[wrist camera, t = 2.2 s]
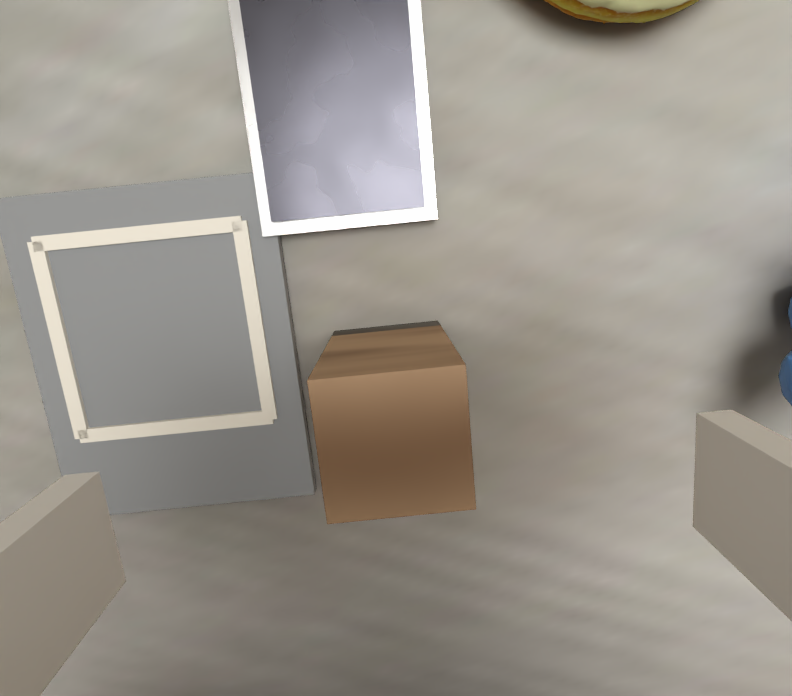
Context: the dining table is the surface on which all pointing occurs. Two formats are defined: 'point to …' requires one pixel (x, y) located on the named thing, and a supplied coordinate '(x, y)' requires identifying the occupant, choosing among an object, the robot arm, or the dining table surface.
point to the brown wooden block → (392, 423)
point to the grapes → (787, 367)
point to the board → (162, 341)
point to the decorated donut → (620, 9)
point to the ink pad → (335, 112)
